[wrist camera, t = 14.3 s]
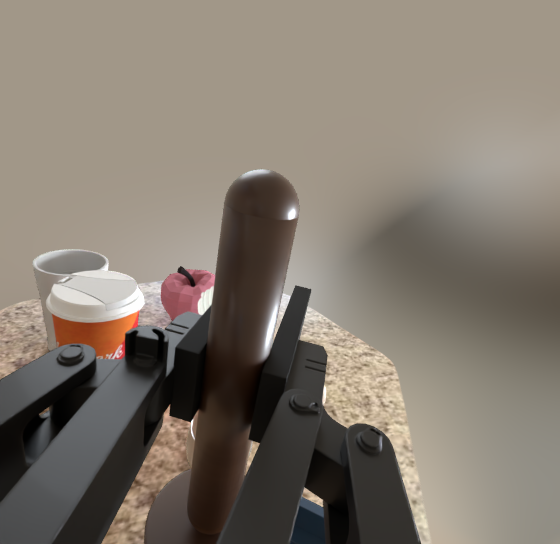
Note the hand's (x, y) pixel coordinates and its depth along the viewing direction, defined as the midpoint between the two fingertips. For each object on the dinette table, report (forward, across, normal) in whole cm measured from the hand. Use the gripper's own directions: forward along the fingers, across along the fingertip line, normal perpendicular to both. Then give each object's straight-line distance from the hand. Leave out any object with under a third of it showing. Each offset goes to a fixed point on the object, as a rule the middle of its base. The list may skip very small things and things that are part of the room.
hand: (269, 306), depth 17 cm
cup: (+21, -28, -24) cm, 42 cm away
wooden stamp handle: (-6, 0, -10) cm, 11 cm away
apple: (+32, -16, -24) cm, 43 cm away
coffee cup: (+12, -18, -24) cm, 32 cm away
